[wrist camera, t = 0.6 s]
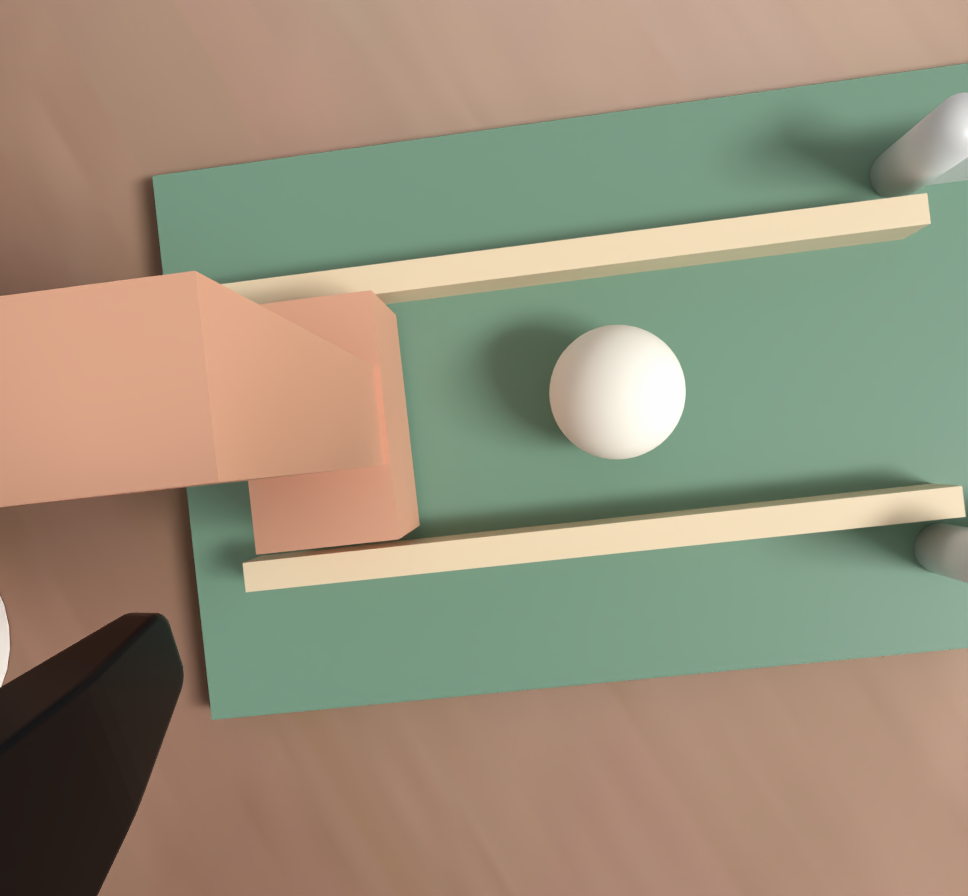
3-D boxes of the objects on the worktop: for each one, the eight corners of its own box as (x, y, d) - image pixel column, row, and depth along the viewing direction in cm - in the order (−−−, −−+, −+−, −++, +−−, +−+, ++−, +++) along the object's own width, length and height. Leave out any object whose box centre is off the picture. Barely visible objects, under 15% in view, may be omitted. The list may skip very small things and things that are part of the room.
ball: (612, 484, 22) (627, 490, 19) (522, 399, 22) (520, 390, 19) (698, 394, 22) (729, 384, 19) (607, 309, 22) (621, 283, 19)
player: (420, 525, 22) (249, 640, 9) (298, 538, 23) (-48, 670, 9) (395, 315, 22) (190, 111, 9) (275, 330, 23) (-104, 152, 9)
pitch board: (1268, 610, 22) (1354, 629, 20) (222, 710, 24) (189, 738, 21) (1199, 42, 22) (1276, -5, 20) (164, 185, 24) (126, 157, 22)
